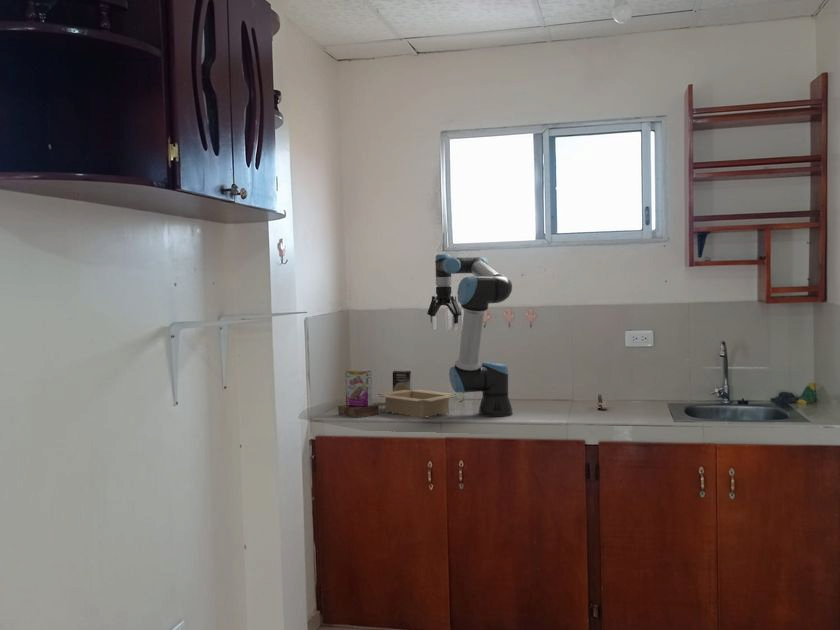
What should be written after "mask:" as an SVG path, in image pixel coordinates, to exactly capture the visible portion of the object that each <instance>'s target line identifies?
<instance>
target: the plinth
mask: <svg viewBox="0 0 840 630" xmlns="http://www.w3.org/2000/svg"><path fill="white" fill-rule="evenodd" d="M337 407H338V409H337V410H338V416H343V417H348V416H350V418H354V417H357V418H356V419H359V418H358V417H361V418H365V417H364V416H366V417H370V416H369V415H371V416H375V415H374V414H377V415H379V413H380V412H379V411H380V410H379V408H380V407H379V404H377V405H376V404H372V405H371V406H369V407H359V406H346V404H344V405H339V406H337Z"/></svg>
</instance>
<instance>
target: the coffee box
mask: <svg viewBox="0 0 840 630" xmlns="http://www.w3.org/2000/svg"><path fill="white" fill-rule="evenodd" d="M400 390H409V391H412V370H393V371H392V392H394V391H400Z"/></svg>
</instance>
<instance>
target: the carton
mask: <svg viewBox="0 0 840 630" xmlns="http://www.w3.org/2000/svg"><path fill="white" fill-rule="evenodd" d="M378 395H379V397H378V398H385V412H386V411H387V412H386V413H389V412H393V413H392V414H396V413H399V414H398V415H402V414H406V415H405V416H409V415H412V416H411V417H415V416H419V417H418V418H422V417H424V418H427V417H426V416H429V417H433V416H432V415H434V416H438V415H437V414H439V415H443V414H442V413H444V414H447V412H449V411H450V407H449V405H450V403H449V402H450V401H449V400H450V399H454V398H458V396H457V395H456V393H451V392H444V391H443V392H442V391H433V390H427V389H426V390H425V389H414V390H411V391H409V390H400V391H394V392H393V391H389V392H382V393H378Z"/></svg>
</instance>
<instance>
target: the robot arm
mask: <svg viewBox="0 0 840 630" xmlns="http://www.w3.org/2000/svg"><path fill="white" fill-rule="evenodd" d="M434 262H435V286H436V287H435V295H433V296H431V301H430V304H429V308H428V311H427V312H426V313H427V315H429V316H430V323H431V330H437V313H438V311H439V309H440V308H441V307H442V306H446V307H447V308H448V309H449V311H450V313H451V314H452V317H451V325H452V327H451V328H452V329H451V330H452V331H458V324H459V316H462V311H461V309H460V307H459V304H460V306H461V308H462V310H463V317H462V325H461V333H460V334H461V335H460V344H459V351H458V352H459V353H458V354H459V355H458V359H456V360H455V361H454V366H451V367H449V371H448V372H449V373H448V376H449V383H450V385H451V389H452V390H453V391H454V392H455V393H458V394H459V393H461V394H462V393H463V394H465V393H466V394H467V393H477V392H479V393H480V392H482V397H481V399H480V400H481V401H480V405H479V408H478V414H479V415H480V416H485V417H506V416H507V415H508V416H511V415H513V407H512V404H511V400H510V398H509V368H508V365H506V364H504V363H499V362H492V361H491V362H490V361H483V362H480V361H479V356H480V355H479V354H480V348H481V340H482V332H483V323H484V314H485V312H487V310H488V309H489V304H499V303H502V302H504V301H505V300H507V299H508V298H509V297H510V296H511V294H512V292H513V284H512V281H511V280H510V278H509V277H508V276H506V275H505V274H503V273H499V272H497V271H496V270H495V269H493V267H491V266H490V265H489V261H488V260H487V258H486V257H480V256H477V257H475V256H474V257H454V256H453V257H452V256H451V254H448V253H447V254H446V253H445V254H444V253H442V254H441V253H440V254H436V255H435V261H434ZM453 274H454V275H456V274H472V276H466V277H465V276H464V277H463V278H462V279H461V280H460V282H459V283H458V286H457V296H456V295H451V294H452V287H451V286H452V275H453ZM458 303H459V304H458ZM508 416H507V417H508Z"/></svg>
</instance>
